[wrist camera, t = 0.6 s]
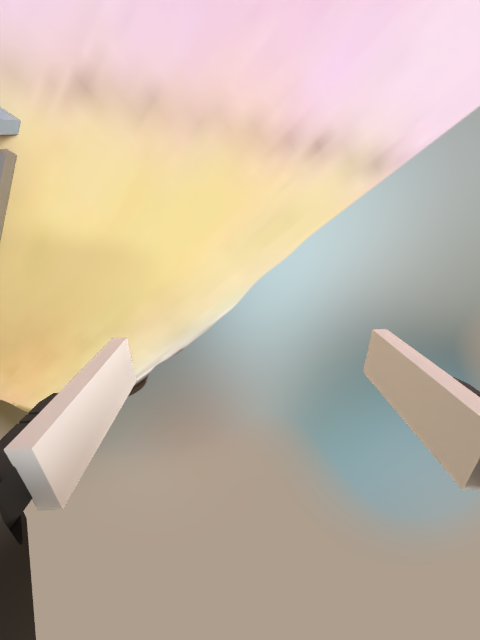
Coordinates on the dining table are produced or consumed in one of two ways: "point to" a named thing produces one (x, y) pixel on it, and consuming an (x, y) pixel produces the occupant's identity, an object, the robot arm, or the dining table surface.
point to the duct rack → (6, 162)
